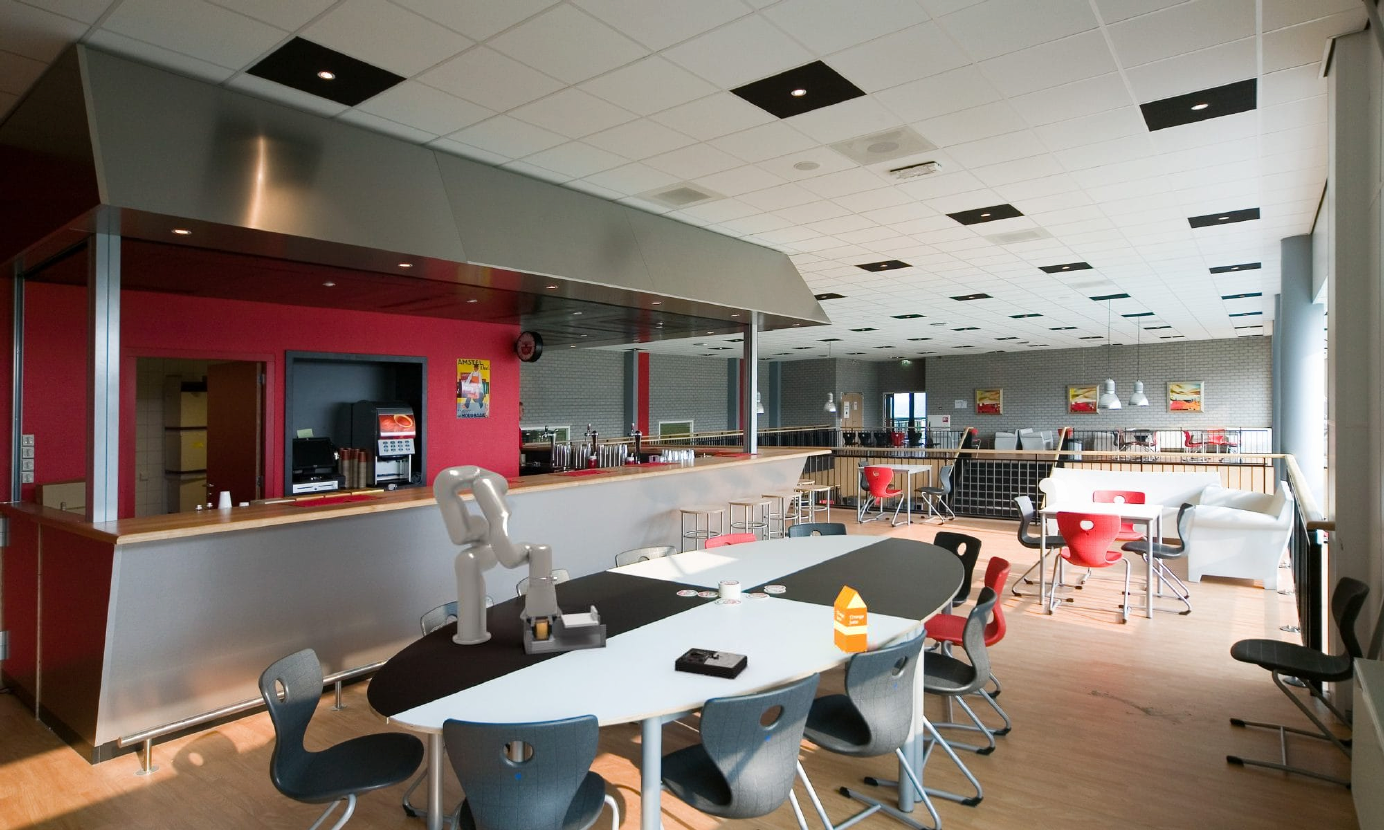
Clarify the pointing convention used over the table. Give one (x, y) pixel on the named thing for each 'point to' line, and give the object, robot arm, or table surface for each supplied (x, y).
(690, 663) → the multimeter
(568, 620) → the lid
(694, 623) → the table surface
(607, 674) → the table surface
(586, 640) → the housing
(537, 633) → the peg
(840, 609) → the orange juice
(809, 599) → the table surface
